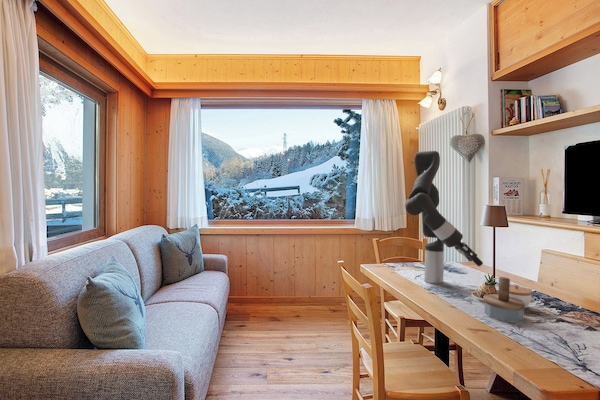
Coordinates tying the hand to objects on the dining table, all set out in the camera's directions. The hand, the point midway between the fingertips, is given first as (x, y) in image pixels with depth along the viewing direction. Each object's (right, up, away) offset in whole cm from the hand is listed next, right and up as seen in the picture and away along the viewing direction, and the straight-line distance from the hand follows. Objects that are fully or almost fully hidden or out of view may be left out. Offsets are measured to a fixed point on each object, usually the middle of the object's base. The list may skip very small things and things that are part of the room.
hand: (476, 262), depth 126 cm
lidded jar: (+22, -21, +9) cm, 32 cm away
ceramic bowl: (+10, -21, -1) cm, 23 cm away
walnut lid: (+10, -16, -1) cm, 19 cm away
